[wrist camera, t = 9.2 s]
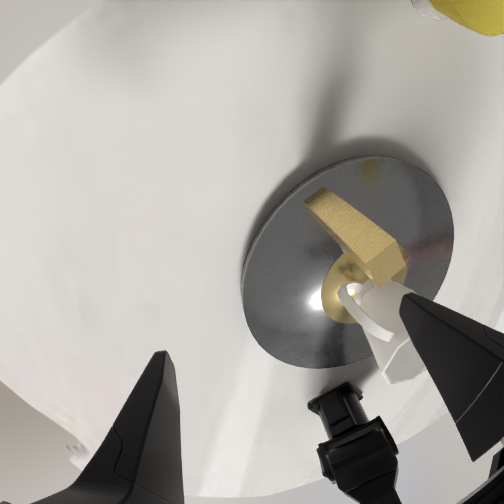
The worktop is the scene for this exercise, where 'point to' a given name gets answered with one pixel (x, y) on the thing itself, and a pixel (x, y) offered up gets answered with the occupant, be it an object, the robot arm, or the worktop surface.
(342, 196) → the turntable
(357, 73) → the worktop surface
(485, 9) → the light bulb
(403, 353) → the cup
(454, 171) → the worktop surface
